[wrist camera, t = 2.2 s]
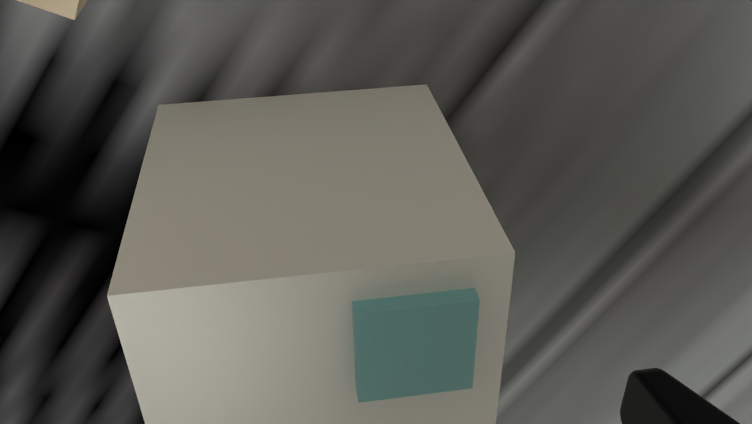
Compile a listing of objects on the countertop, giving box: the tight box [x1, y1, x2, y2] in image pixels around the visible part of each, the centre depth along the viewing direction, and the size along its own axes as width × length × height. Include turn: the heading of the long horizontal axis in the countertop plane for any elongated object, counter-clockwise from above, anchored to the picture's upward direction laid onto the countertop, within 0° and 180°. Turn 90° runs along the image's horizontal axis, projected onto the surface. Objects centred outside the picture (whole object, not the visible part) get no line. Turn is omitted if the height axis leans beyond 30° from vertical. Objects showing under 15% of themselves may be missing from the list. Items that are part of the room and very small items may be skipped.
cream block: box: [107, 84, 515, 424], centre depth 12 cm, size 5×5×6 cm
